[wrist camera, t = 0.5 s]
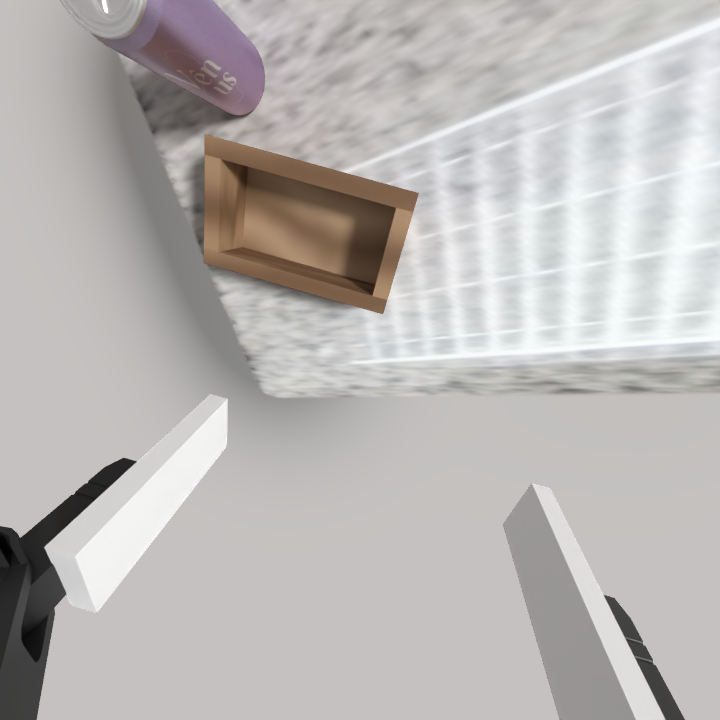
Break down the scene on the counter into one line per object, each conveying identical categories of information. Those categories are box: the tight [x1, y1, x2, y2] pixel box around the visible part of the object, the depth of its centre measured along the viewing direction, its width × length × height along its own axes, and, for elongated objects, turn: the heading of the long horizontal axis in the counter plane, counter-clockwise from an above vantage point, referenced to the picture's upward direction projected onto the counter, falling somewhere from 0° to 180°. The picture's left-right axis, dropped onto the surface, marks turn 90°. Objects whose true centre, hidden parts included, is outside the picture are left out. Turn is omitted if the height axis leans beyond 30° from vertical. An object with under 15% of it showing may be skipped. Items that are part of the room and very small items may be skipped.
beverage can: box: [60, 0, 265, 115], centre depth 22 cm, size 6×6×15 cm
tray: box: [204, 134, 419, 314], centre depth 31 cm, size 11×19×6 cm, turn 76°
